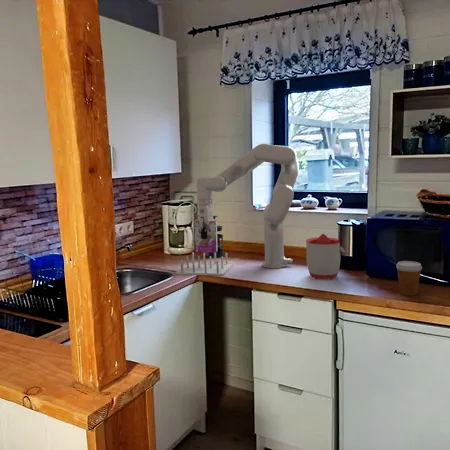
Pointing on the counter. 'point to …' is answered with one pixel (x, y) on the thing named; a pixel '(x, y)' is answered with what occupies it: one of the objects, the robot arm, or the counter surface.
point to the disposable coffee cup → (408, 276)
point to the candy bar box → (209, 243)
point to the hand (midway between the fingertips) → (205, 237)
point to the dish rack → (205, 267)
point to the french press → (218, 243)
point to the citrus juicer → (323, 257)
